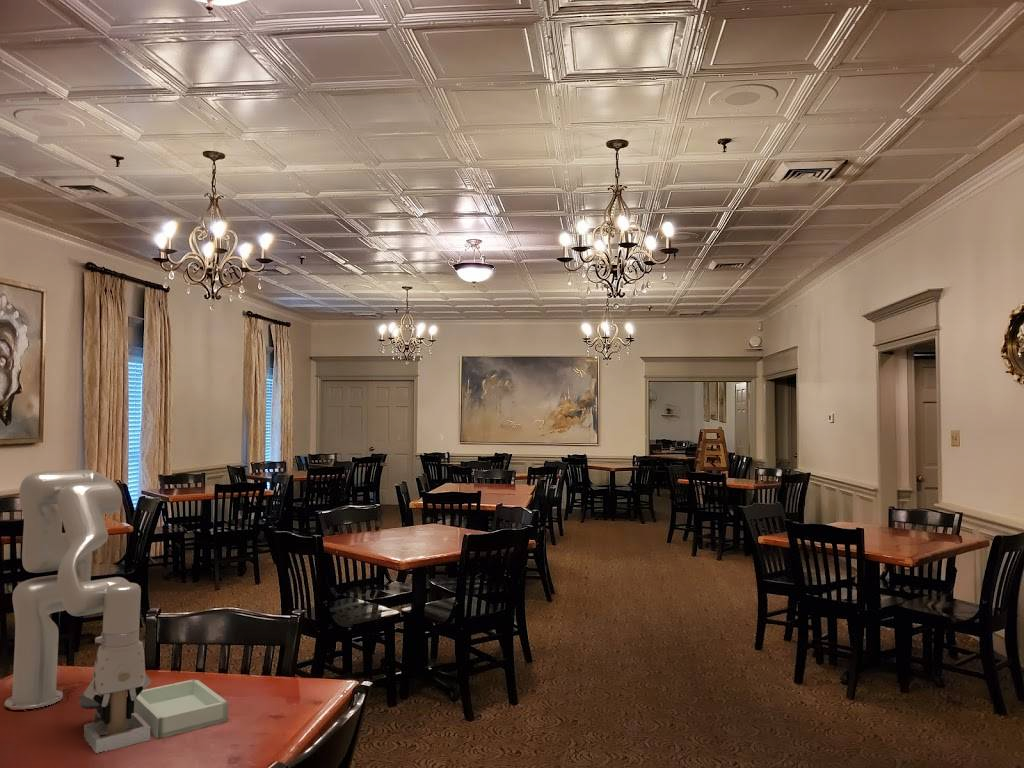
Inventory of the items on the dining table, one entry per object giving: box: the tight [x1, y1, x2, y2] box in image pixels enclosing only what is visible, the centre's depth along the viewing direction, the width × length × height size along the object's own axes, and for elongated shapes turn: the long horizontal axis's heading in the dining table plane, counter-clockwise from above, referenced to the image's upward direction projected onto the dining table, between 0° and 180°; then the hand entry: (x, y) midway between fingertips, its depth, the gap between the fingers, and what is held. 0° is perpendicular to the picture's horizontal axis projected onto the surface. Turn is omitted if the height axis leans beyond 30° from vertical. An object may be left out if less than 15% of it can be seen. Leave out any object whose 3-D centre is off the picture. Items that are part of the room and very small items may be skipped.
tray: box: [134, 678, 229, 740], centre depth 183 cm, size 22×16×4 cm
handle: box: [107, 673, 130, 735], centre depth 170 cm, size 5×6×15 cm
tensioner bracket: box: [78, 689, 151, 754], centre depth 173 cm, size 21×11×8 cm, turn 42°
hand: (116, 718), depth 170 cm, fingers closed on handle, 4 cm apart
